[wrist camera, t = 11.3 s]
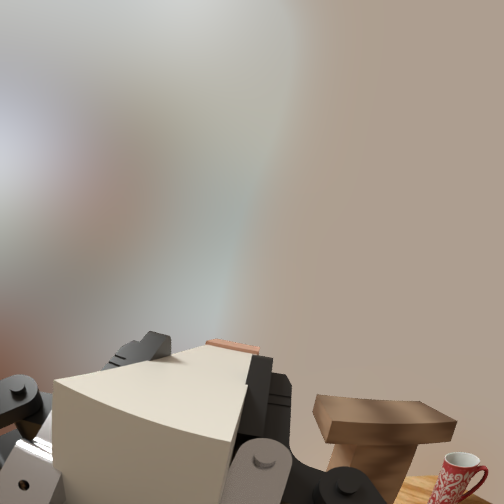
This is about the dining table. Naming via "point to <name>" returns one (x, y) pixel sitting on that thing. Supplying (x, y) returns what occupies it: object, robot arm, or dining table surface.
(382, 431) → the stand
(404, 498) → the dining table surface
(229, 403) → the block
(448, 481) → the mug
